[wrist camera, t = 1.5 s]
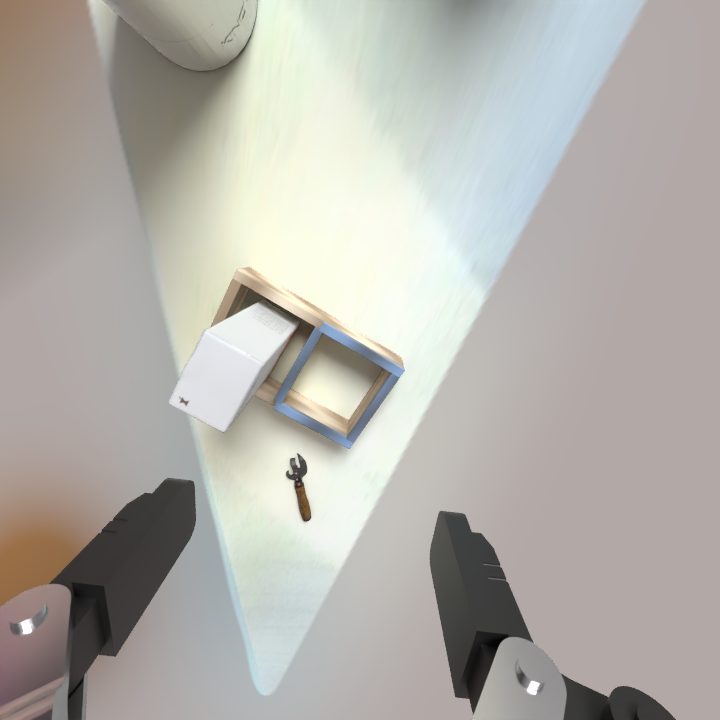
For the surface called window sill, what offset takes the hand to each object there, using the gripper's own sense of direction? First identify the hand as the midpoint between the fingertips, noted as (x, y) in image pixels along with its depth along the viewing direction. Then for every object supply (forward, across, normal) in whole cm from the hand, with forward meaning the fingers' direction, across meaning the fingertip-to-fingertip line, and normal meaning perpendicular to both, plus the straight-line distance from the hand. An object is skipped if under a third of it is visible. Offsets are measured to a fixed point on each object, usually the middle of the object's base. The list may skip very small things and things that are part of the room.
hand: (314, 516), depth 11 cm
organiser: (+22, +4, +2) cm, 23 cm away
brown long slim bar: (+23, +4, +18) cm, 30 cm away
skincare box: (+22, +8, 0) cm, 24 cm away
